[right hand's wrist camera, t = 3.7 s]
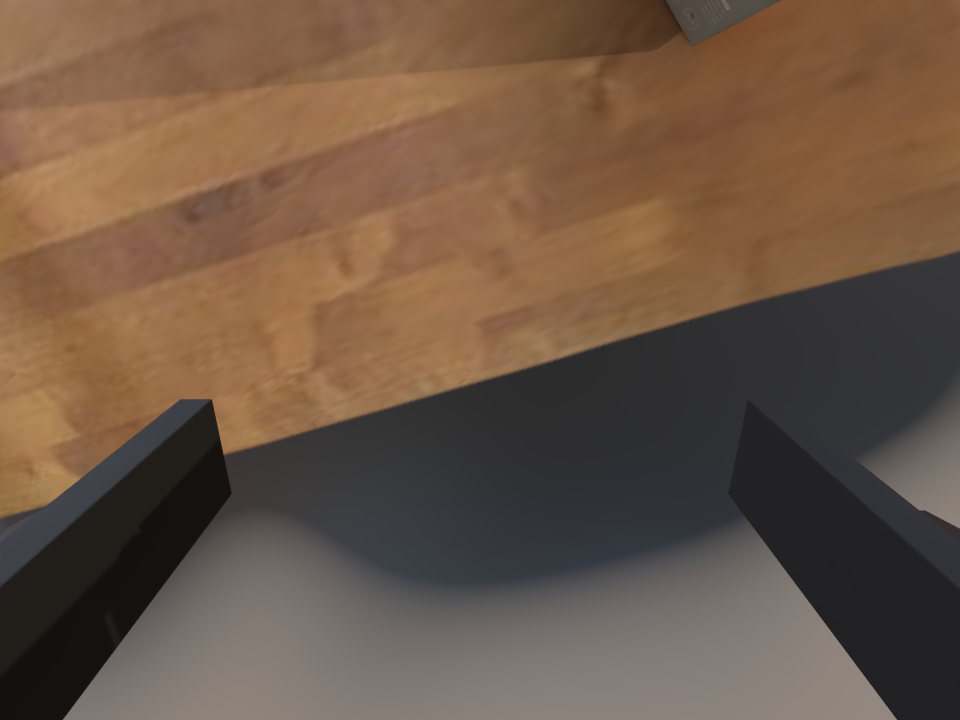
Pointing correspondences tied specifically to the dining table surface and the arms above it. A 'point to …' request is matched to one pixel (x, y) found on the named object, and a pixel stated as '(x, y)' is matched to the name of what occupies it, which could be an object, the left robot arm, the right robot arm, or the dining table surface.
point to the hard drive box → (713, 15)
